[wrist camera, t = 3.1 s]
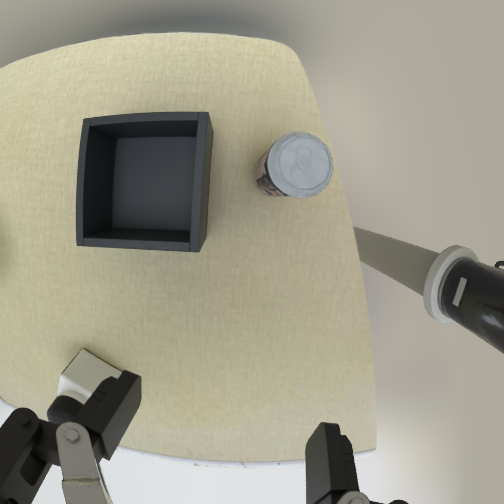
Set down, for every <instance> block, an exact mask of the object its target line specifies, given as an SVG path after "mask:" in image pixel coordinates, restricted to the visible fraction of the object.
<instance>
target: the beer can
mask: <svg viewBox="0 0 504 504" xmlns="http://www.w3.org/2000/svg"><path fill="white" fill-rule="evenodd" d="M332 172H333V161H332V157H331V154H330V152H329V150H328V148H327V147H326V145H325V144H324V143H323V142H322V141H321V140H320V139H318V138H317V137H315V136H314V135H311V134H309V133H305V132H293V133H289V134H286V135H284V136H282V137H281V138H279V139H278V140H277V141H276V142H275V143H274V144H273V145H272V146H271V147H270V148H269V149H268V151H267V152H266V153H265V154H264V155H263V156H262V157H261V158H260V160H259V161H258V162H257V164H256V166H255V169H254V179H255V182H256V184H257V186H258V188H259V189H260V190H261V191H262V192H263V193H265V194H267V195H269V196H275V197H277V196H292V197H297V198H308V197H312V196H314V195H317V194H318V193H320V192H321V191H322V190H324V188H325V187H326V186H327V185H328V183H329V181H330V179H331V177H332Z"/></svg>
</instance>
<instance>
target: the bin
mask: <svg viewBox="0 0 504 504" xmlns="http://www.w3.org/2000/svg"><path fill="white" fill-rule="evenodd" d="M212 143H213V129H212V125H211V121H210V116H209V112H152V113H134V114H121V115H110V116H101V117H93V118H85V119H83V126H82V133H81V140H80V149H79V159H78V172H77V190H76V241H77V246H88V247H107V248H125V249H144V250H163V251H183V252H200V250H201V248H202V246H203V244H204V242H205V240H206V237H207V217H208V198H209V183H210V168H211V155H212Z"/></svg>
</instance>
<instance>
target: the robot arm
mask: <svg viewBox="0 0 504 504" xmlns="http://www.w3.org/2000/svg"><path fill="white" fill-rule="evenodd" d="M499 266H504V261H498V262H496V264H495V267H492V266H489V265H486V264H483V263H481V262H478V261H475V260H473V259H471V258H468V257H459V258H457V259H456V260H454V261H453V262H452V263H451V264H450V265H449V266H448V268H447V269H446V271H445V273H444V275H443V277H442V279H441V282H440V285H439V289H438V297H437V300H438V307H439V310H440V311H441V313H442V314H443V315H445V316H446V317H448V318H451V319H452V320H454V321H455V322H457V323H459V324H460V325H461V326H463V327H464V328H466V329H468V330H469V331H471V332H472V333H474V334H476V335H477V336H478V337H480V338H481V339H483V340H484V341H486V342H487V343H489V344H490V345H492V346H493V347H495V348H496V349H498V350H499V351H501V352H502V353H503V354H504V270H503V269H500V268H499ZM140 402H141V376H139V375H137V374H134V373H132V372H130V371H127V370H124V371H123V372H122V373H121V375H120V376H119V378H118V379H117V378H115V377H113V376H110V377H108V378H106V379H105V380H103V381H101V383H100V384H99V385H98V387H97V388H96V390H95V391H94V392H93V393H92V394H91V397H89V398H88V400H87V401H86V402H85V404H84V405H83V406H82V408H81V409H80V410H79V412H78V413H77V414H76V416H75V417H74V418H73V419H72V420H71V421H70V422H66V423H63V424H54V423H51V422H47V421H44V420H41V419H38V417H37V415H36V414H35V413H34V412H33V411H32V410H30V409H28V408H18V409H16V410H14V411H13V412H12V413H11V415H10V416H9V417H8V419H7V420H6V421H5V422H4V424H3V425H2V426H1V428H0V504H31V503H32V501H33V499H34V497H35V495H36V493H37V492H38V490H39V488H40V486H41V484H42V482H43V480H44V479H45V477H46V475H47V473H48V471H49V469H50V467H51V466H52V464H54V465H57V466H60V467H61V469H62V474H63V480H62V489H63V493H64V497H65V500H66V504H113V503H112V500H111V498H110V495H109V492H108V489H107V486H106V483H105V480H104V477H103V474H102V470H101V467H100V464H99V462H100V461H101V459H102V457H103V458H105V459H107V460H110V459H111V457H112V455H113V453H114V451H115V450H116V448H117V446H118V444H119V442H120V440H121V439H122V437H123V435H124V433H125V431H126V430H127V428H128V426H129V424H130V422H131V421H132V419H133V417H134V415H135V413H136V412H137V410H138V408H139V406H140ZM305 458H306V504H383V503H378V502H373V501H370V500H369V499H368V497H367V496H366V495H365V494H363V493H361V492H360V490H359V486H358V479H357V473H356V467H355V463H354V455H353V449H352V444H351V442H350V441H349V439H348V438H347V436H346V435H341V433H340V427H339V425H338V424H335V423H326V422H321V423H320V424H319V426H318V427H317V428H316V430H315V431H314V433H313V434H312V435H311V437H310V438H309V440H308V441H307V444H306V449H305ZM389 504H408V503H407V502H405V501H403V500H394V501H393V502H391V503H389Z"/></svg>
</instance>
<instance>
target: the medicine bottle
mask: <svg viewBox="0 0 504 504" xmlns="http://www.w3.org/2000/svg"><path fill="white" fill-rule="evenodd" d="M121 373H122V372H121V371H119V370H117V369H115V368H114V367H112V366H110V365H109V364H107V363H105V362H103V361H102V360H100V359H98V358H97V357H95V356H94V355H92V354H90V353H89V352H87V351H86V350H84V349H81V350H80V351H79V353H78V354H77V355H76V356H75V357H74V359H73V360H72V361H71V362H70V364H69V365H68V366H67V367H66V368H65V370H64V371H63V372H62V373H61V375H60V380H59V386H58V392H57V397H56V399H55V400H54V402H53V403H52V405H51V406H50V407H49V409H48V410H47V417H48V420H49V422H51V423H54V424H63V423H66V422H70V421H71V420H72V419H73V418H74V417H75V416H76V414H77V413H78V412H79V410H80V409H81V408H82V406H83V405H84V404H85V402H86V401H87V400H88V398H89V397H91V394H92V393H93V392H94V391H95V390H96V388H97V387H98V385H99V384H100V383H101V381H103V380H105V379H106V378H108V377H110V376H113V377H115V378H117V379H118V378H119V376H120V375H121Z"/></svg>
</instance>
